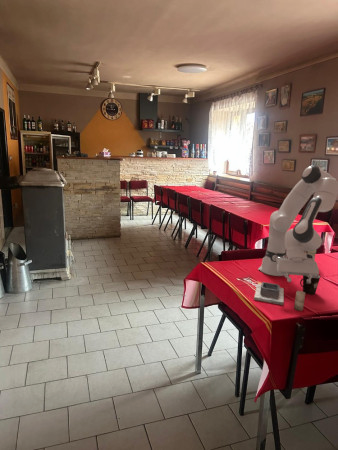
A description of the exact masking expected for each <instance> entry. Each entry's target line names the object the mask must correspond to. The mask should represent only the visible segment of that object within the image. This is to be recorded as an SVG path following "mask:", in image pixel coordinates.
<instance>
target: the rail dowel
mask: <svg viewBox="0 0 338 450" xmlns="http://www.w3.org/2000/svg"><path fill="white" fill-rule="evenodd" d="M295 292H296V293H295V299H294V306H293V308H294V310H295V311H298V312H302V311H303V310H304V304H305V296H306V293H305V292H303V290H297V291H295Z"/></svg>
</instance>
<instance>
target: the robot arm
mask: <svg viewBox="0 0 338 450" xmlns="http://www.w3.org/2000/svg"><path fill="white" fill-rule="evenodd" d="M312 195H313V197H312V198H311V196H312ZM310 198H311V199H310ZM337 198H338V180H337V179H336V177H335V178H334V176H332V174H330V173H329V172H327V171H325V170H323V169H321V168H320V167H319V166H317V165H313V164H311V165H309V166H306V167H305V169H304V170H303V171H302V173H301V179H300V180H299V181H298V182H297V183H296V184H295V185H294V187H293V188H292V189H291V191H290V192H289V193H288V194H287V196H286V197H285V199H284V200H283V202H282V204H281V205H280V207H279V209H278V210H275V211H273V212H272V213H271V215H270V217H269V226H268V228H269V229H268V240H267V241H268V242H267V247H266V249H265V250H266V251H265V255H264V257H263V258H262V259H261V260H262V262H261V265H260V266H259V267H258V268H257V269H258V271H259V270H260V272H262V273H263V274H265V275H269V276H274V277H275V276H276V277H285V278H286V279H287V282H288V283H292V277H290V276H289V275H291V276H308V278H309V279H307V280H306V281H307V284H310V283H311V278H312V276H315V277H316V276H317V275H319V274H320V269H319V265H318V263H317V261H316V260H314V259H316V256H315V257H314V256H313V255H310V254H307V253H305V252H304V251H313V250H316V249H317V250H318V249H319V248H320V247H321V246H322V243H323V239H322V237H321V236H320V234H319V233H318V232H317V231H316V230H315V228H314V221H315V220H316V218H317V215H318V213H326V212H329V211H331V210H332V209H333V208H334V206H335V204H336V201H337ZM308 201H309V202H308ZM307 202H308V203H307ZM306 203H307V204H306ZM305 205H306V207H305V209H304V211H303V213H302V215H301V217H300V218H299V220H298V221H297V223H296V224H295V225H294V227H293V228H291V227H292V224H293V223H294V221H295V220H296V218H297V217H298V215H299V213H300V211H301V210H302V208H303V207H304V206H305ZM290 228H291V229H290ZM317 250H316V251H317Z"/></svg>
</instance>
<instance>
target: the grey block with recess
mask: <svg viewBox="0 0 338 450" xmlns="http://www.w3.org/2000/svg"><path fill="white" fill-rule="evenodd" d="M284 290H285V289H284V287H281V286H280V285H279V284H277V283H272V282H265V281H262V282H261V283H257V284H256V288H255V293H254V296H253V298H254V299H253V300H254V301H258V302H263V303H267V304H268V303H269V304H274V305H281V306H284V302H285V301H284V296H285V295H284V294H285V293H284Z"/></svg>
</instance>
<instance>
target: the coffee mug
mask: <svg viewBox="0 0 338 450" xmlns="http://www.w3.org/2000/svg"><path fill="white" fill-rule="evenodd" d="M307 279H309V278H308V276H303V277H302V278H301V279H300V282H299V284H300V286H301V288H302V291H303V292H305V295H311V296H313V295H316V292H317V289H318V285H319V282H320V279H321V276H320V275H319V274H318V275H317V276H316V277H315V276H312V278H311V283H310V284H307V281H306V280H307Z"/></svg>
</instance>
